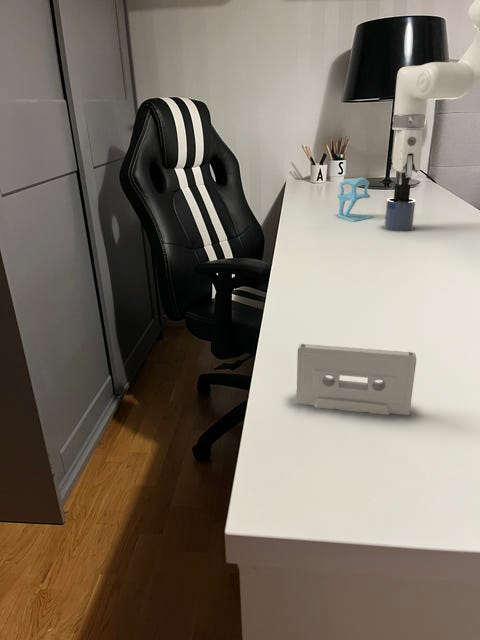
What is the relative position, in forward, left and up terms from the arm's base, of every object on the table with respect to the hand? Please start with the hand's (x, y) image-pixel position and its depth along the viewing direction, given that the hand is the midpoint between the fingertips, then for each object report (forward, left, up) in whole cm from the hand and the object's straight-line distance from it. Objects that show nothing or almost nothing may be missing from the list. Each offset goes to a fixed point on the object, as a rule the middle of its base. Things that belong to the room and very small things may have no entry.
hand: (401, 199), depth 128 cm
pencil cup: (0, 0, -8) cm, 8 cm away
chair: (+10, -15, -8) cm, 20 cm away
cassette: (+23, +86, -8) cm, 89 cm away
